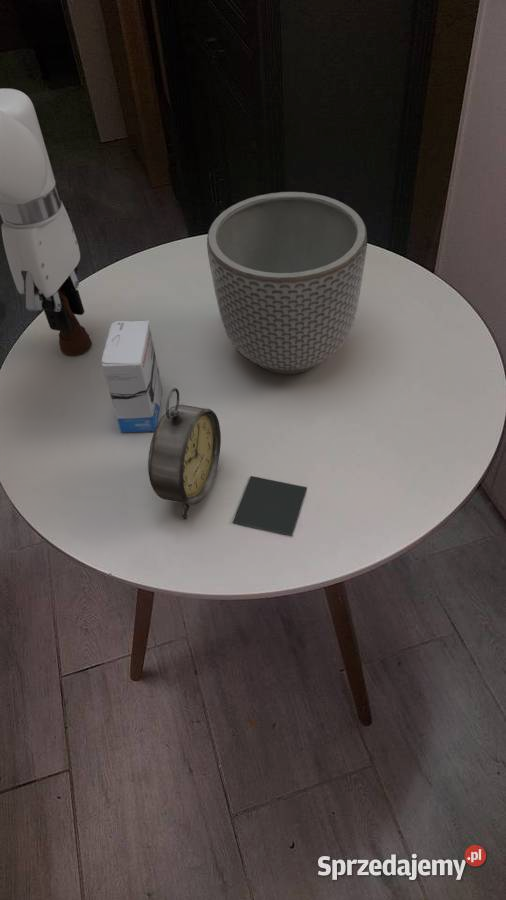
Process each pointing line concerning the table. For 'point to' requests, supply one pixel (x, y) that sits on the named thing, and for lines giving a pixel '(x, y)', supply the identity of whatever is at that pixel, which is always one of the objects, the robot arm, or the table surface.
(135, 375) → the ink box
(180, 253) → the table surface
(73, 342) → the chess piece
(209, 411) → the alarm clock
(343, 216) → the planter
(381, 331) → the table surface
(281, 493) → the slate coaster
